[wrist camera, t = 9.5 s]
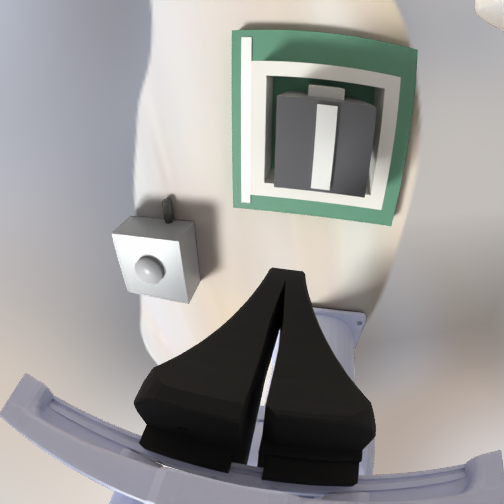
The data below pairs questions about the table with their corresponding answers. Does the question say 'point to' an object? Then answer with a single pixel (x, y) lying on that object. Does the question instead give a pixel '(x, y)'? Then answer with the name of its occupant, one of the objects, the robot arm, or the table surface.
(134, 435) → the robot arm
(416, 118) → the table surface
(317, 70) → the board
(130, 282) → the gray button box
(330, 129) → the plug
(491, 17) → the cable organizer
